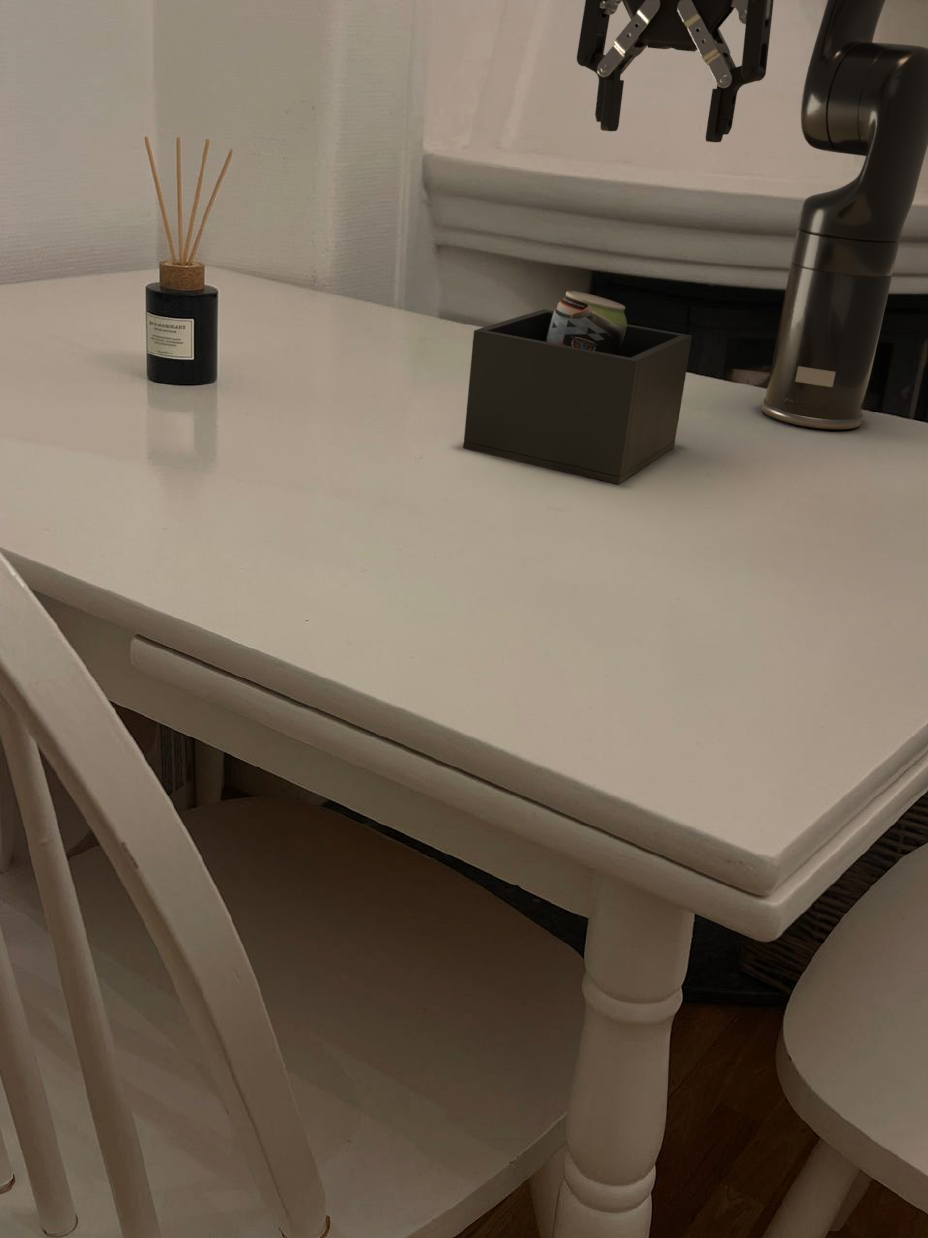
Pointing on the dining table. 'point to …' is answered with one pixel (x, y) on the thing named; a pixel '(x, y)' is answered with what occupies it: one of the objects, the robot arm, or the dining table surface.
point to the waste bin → (574, 398)
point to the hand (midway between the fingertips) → (660, 135)
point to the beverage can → (588, 323)
